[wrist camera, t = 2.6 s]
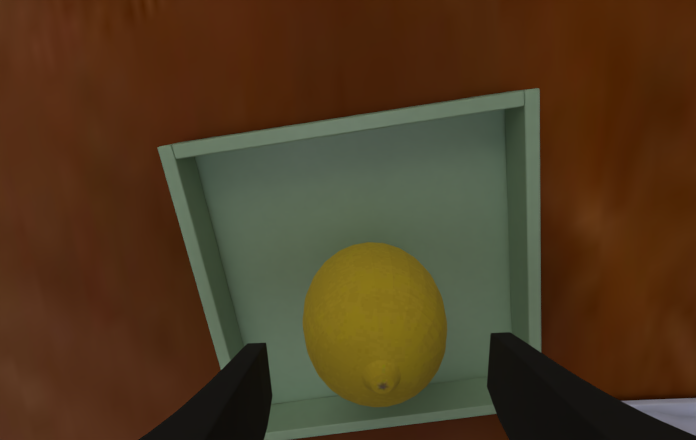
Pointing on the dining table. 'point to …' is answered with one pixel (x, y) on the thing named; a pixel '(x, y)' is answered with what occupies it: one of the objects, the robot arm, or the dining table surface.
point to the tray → (367, 240)
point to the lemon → (374, 325)
